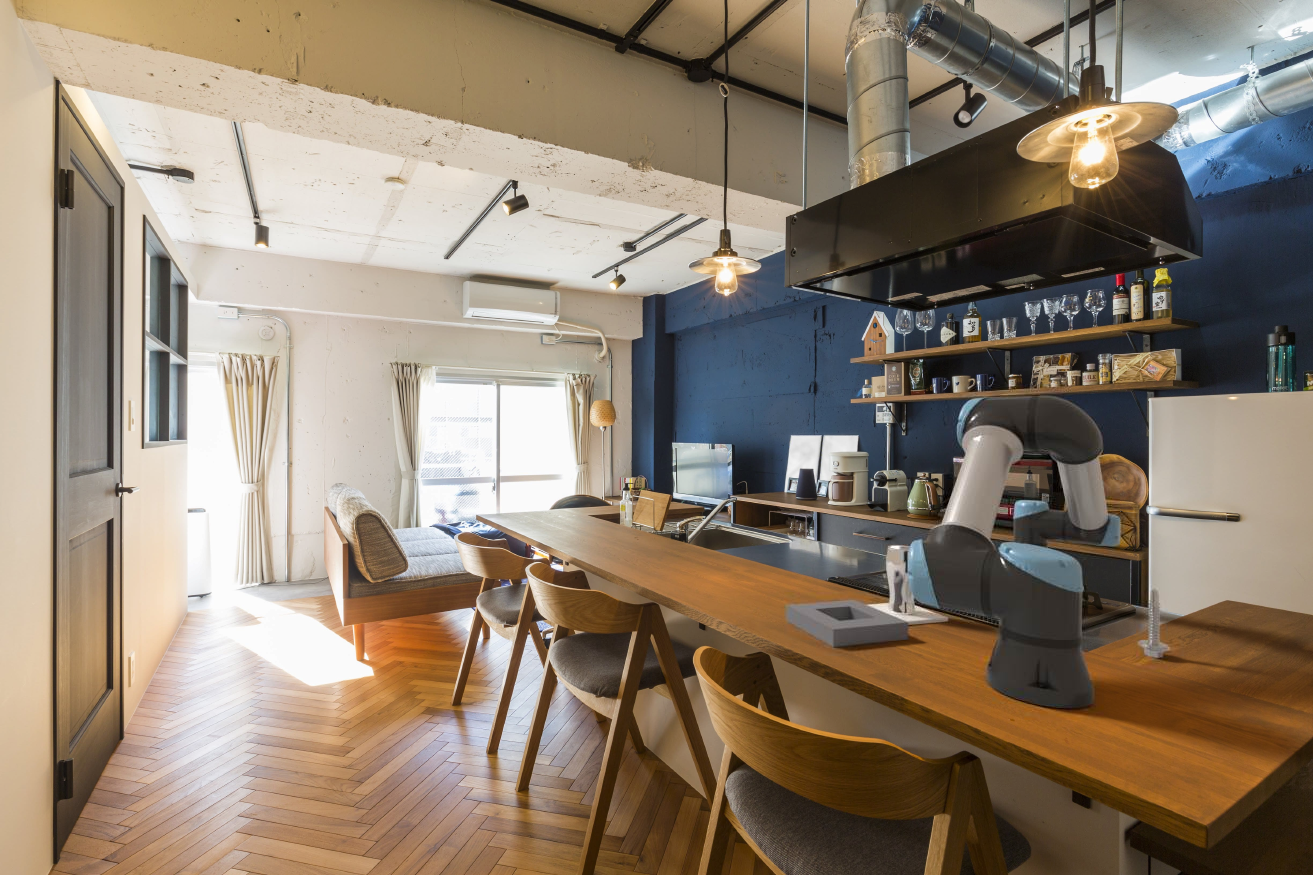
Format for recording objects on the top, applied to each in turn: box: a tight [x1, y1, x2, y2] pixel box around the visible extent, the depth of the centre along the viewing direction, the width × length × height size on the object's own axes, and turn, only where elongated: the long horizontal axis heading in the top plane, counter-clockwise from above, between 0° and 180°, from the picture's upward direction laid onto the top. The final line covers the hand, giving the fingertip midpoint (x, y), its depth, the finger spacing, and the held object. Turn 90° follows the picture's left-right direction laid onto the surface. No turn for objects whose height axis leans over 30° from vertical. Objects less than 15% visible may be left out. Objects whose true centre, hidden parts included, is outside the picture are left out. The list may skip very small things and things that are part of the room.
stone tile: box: [867, 602, 949, 626], centre depth 144 cm, size 14×14×1 cm
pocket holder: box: [785, 599, 909, 648], centre depth 132 cm, size 18×18×4 cm
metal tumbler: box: [886, 544, 916, 615], centre depth 144 cm, size 7×7×15 cm
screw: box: [1137, 588, 1171, 659], centre depth 119 cm, size 13×5×5 cm
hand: (931, 568), depth 146 cm, fingers open, 13 cm apart
